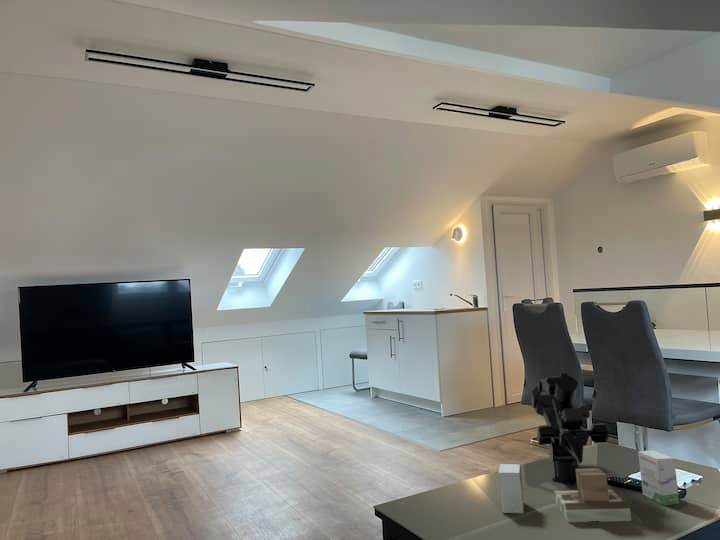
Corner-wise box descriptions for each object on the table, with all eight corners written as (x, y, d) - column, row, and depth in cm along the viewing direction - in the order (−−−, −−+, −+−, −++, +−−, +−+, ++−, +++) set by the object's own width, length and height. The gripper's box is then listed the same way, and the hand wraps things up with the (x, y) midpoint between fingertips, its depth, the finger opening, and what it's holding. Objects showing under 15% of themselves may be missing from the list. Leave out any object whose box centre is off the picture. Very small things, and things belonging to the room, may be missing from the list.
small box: (523, 514, 136) (519, 473, 137) (501, 513, 138) (497, 472, 138) (524, 502, 144) (520, 463, 144) (503, 501, 145) (499, 463, 146)
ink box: (680, 504, 135) (675, 457, 136) (663, 506, 135) (657, 459, 135) (658, 492, 144) (653, 449, 144) (642, 494, 143) (637, 451, 144)
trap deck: (555, 502, 142) (553, 485, 142) (613, 501, 140) (611, 483, 140) (567, 522, 129) (565, 503, 130) (631, 521, 127) (629, 502, 128)
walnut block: (578, 500, 135) (575, 469, 135) (603, 500, 134) (599, 468, 134) (584, 508, 130) (581, 475, 130) (609, 507, 129) (606, 474, 129)
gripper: (534, 397, 149) (547, 447, 137) (603, 394, 146) (622, 444, 135) (532, 420, 156) (544, 469, 144) (597, 417, 154) (615, 466, 142)
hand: (580, 461), depth 141 cm, fingers closed
